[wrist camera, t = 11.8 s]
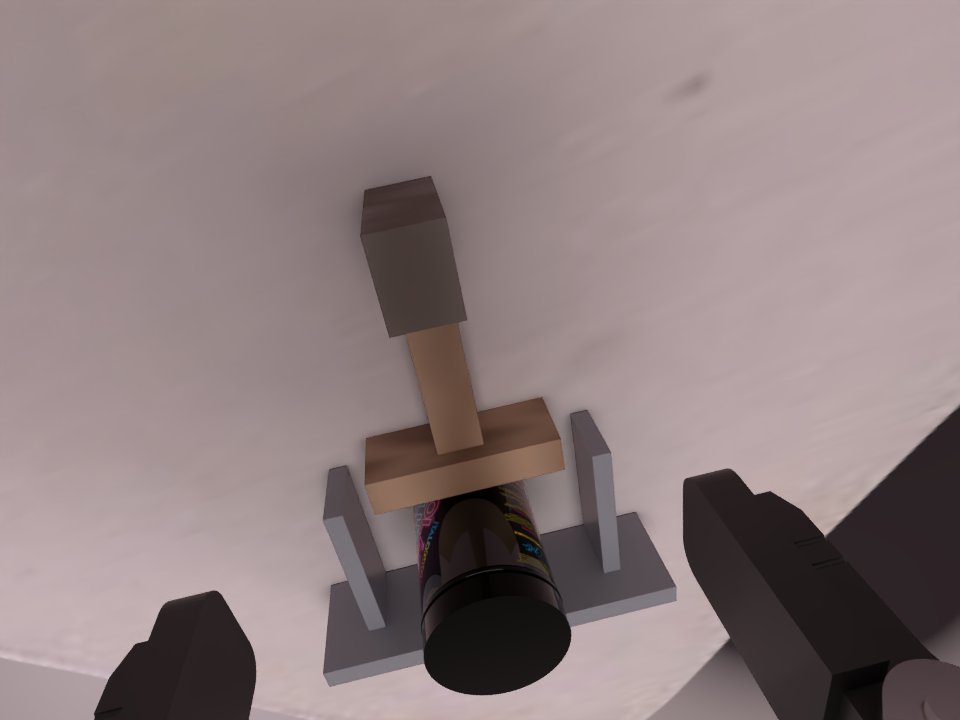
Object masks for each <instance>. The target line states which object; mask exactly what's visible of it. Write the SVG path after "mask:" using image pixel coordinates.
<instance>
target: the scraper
mask: <svg viewBox="0 0 960 720" xmlns="http://www.w3.org/2000/svg"><path fill="white" fill-rule="evenodd" d="M360 237H361V240H362V244H363V247H364V251H365V254H366V258H367V261H368V265H369V268H370V272H371V275H372V279H373V282H374V286H375V289H376V293H377V296H378V300H379V303H380V307H381V310H382V314H383V317H384V321H385V324H386V328H387V331H388V334H389V338H391V337H395V336H399V335H404V334H405V335H406V338H407V342H408V346H409V349H410V353H411V357H412V361H413V364H414V368H415V372H416V375H417V379H418V383H419V386H420V390H421V394H422V398H423V401H424V405H425V409H426V412H427V416H428V420H429V424H425V425H421V426H416V427H412V428H408V429H404V430H399V431H395V432H391V433H386V434H382V435H378V436H373V437H369V438H366V458H365V488H366V491H367V494H368V496H369V499H370V502H371V505H372V507H373V510H374V513H375V515H376V514H380V513H385V512H389V511H393V510H397V509H401V508H405V507H410V506H414V505H418V504H422V503H426V502H431V501H435V500H439V499H443V498H447V497H452V496H456V495H460V494H464V493H468V492H472V491H477V490H481V489H485V488H489V487H493V486H498V485H502V484H506V483H510V482H514V481H518V480H523V479H527V478H531V477H535V476H539V475H544V474H548V473H552V472H556V471H560V470H565V466H564V459H563V451H562V444H561V438H560V436H559V434H558V432H557V429H556V427H555V425H554V423H553V420H552V418H551V416H550V414H549V412H548V409H547V407H546V405H545V403H544V400H543V398H542V397H541V398H537V399H532V400H528V401H524V402H519V403H515V404H511V405H507V406H502V407H498V408H494V409H489V410H485V411H481V412H477V411H476V406H475V401H474V397H473V392H472V388H471V383H470V379H469V374H468V369H467V365H466V360H465V356H464V351H463V346H462V342H461V337H460V333H459V328H458V324H457V322H461V321H466V320H467V317H466V312H465V307H464V302H463V297H462V293H461V288H460V283H459V278H458V273H457V269H456V264H455V259H454V254H453V249H452V245H451V240H450V235H449V230H448V225H447V221H446V216H445V214H444V211H443V208H442V206H441V203H440V200H439V197H438V195H437V192H436V189H435V186H434V184H433V181H432V178H431V176H429V177H424V178H419V179H415V180H410V181H405V182H401V183H396V184H391V185H387V186H382V187H377V188H373V189H368V190H365V194H364V204H363V214H362V224H361V234H360Z"/></svg>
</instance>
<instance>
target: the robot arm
mask: <svg viewBox="0 0 960 720" xmlns="http://www.w3.org/2000/svg"><path fill="white" fill-rule="evenodd" d="M683 542H684V549H685V553H686V557H687V560H688V563H689V565H690V568H691V570H692V572H693V574H694V576H695V578H696V580H697V582H698V583H699V585H700V587H701V588H702V590H703V592H704V593H705V595H706V597H707V599H708V600H709V602H710V604H711V605H712V607H713V609H714V610H715V612H716V614H717V616H718V617H719V619H720V621H721V622H722V624H723V626H724V628H725V629H726V631H727V633H728V634H729V636H730V638H731V639H732V641H733V643H734V644H735V646H736V648H737V650H738V651H739V653H740V655H741V656H742V658H743V660H744V661H745V663H746V665H747V667H748V668H749V670H750V672H751V673H752V675H753V677H754V679H755V680H756V682H757V684H758V685H759V687H760V689H761V690H762V692H763V694H764V696H765V697H766V699H767V701H768V702H769V704H770V706H771V707H772V709H773V711H774V713H775V714H776V716H777V718H778V719H779V720H960V667H959V666H956V665H953V664H950V663H947V662H943V661H940V660H939V659H937V658H936V657H935V656H933V654H931V653H930V652H929V651H928V650H927V649H926V648H925V647H924V646H923V645H922V644H921V643H920V641H919V640H918V639H917V638H916V637H915V636H914V635H913V634H912V633H911V631H910V630H909V629H908V628H907V627H906V626H905V625H904V624H903V623H902V621H901V620H900V619H899V618H898V617H897V616H896V615H895V614H894V613H893V611H892V610H891V609H890V608H889V607H888V606H887V605H886V604H885V602H884V601H883V600H882V599H881V598H880V597H879V596H878V595H877V594H876V592H875V591H874V590H873V589H872V588H871V587H870V586H869V585H868V584H867V583H866V582H865V580H864V579H863V578H862V577H861V576H860V575H859V574H858V572H857V571H856V570H855V569H854V568H853V567H852V566H851V565H850V564H849V563H848V562H845V561H844V559H843V556H842V555H841V553H840V552H839V551H838V550H837V549H836V548H835V547H834V546H833V545H832V543H831V542H830V541H829V540H827V541H826V540H825V538H824V535H823V533H822V532H821V531H820V530H819V529H818V528H817V527H816V526H815V525H814V523H813V522H812V521H811V520H810V519H809V518H808V517H807V516H806V515H805V513H804V512H803V511H802V510H801V509H799V508H797V507H796V506H794V505H792V504H791V503H789V502H787V501H786V500H784V499H782V498H781V497H779V496H777V495H776V494H774V493H772V492H771V491H769V492H765V493H761V494H757V495H754V494H753V493H752V492H751V490H750V489H749V488H748V487H747V486H746V484H745V483H744V482H743V481H742V479H741V478H740V477H739V476H738V475H737V474H736V473H735V472H734V471H733V470H731V469H728V468H727V469H723V470H719V471H715V472H711V473H706V474H702V475H698V476H694V477H690V478H686V479H685V480H684V484H683ZM255 683H256V662H255V656H254V652H253V649H252V646H251V644H250V642H249V640H248V639H247V637H246V635H245V634H244V632H243V630H242V629H241V627H240V625H239V623H238V622H237V620H236V618H235V617H234V615H233V613H232V612H231V610H230V608H229V606H228V605H227V603H226V601H225V600H224V598H223V596H222V595H221V594H220V593H219V592H218V591H209V592H205V593H201V594H197V595H193V596H189V597H185V598H180V599H176V600H172V601H168V602H167V603H165V604H164V605H163V607H162V608H161V610H160V612H159V614H158V617H157V619H156V622H155V624H154V627H153V630H152V632H151V635H150V637H149V640H148V641H145V642H141V643H137V644H135V645H134V646H133V648H132V649H131V650H130V652H129V653H128V654H127V655H126V657H125V658H124V659H123V661H122V662H121V663H120V665H119V666H118V667H117V668H116V670H115V671H114V672H113V674H112V675H111V676H110V678H109V680H108V682H107V685H106V687H105V689H104V691H103V694H102V696H101V699H100V701H99V703H98V706H97V708H96V710H95V713H94V715H95V719H94V720H249V715H250V710H251V705H252V700H253V694H254V689H255Z"/></svg>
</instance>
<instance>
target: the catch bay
mask: <svg viewBox="0 0 960 720" xmlns="http://www.w3.org/2000/svg"><path fill="white" fill-rule="evenodd" d="M571 423H572V431H573V439H574V448H575V456H576V465H577V473H578V482H579V490H580V498H581V507H582V515H583V524H584V525H580V526H576V527H572V528H568V529H564V530H560V531H555V532H551V533H547V534H543V535H540V537H541V540H542V543H543V546H544V549H545V552H546V555H547V558H548V562H549V565H550V568H551V571H552V574H553V577H554V580H555V583H556V586H557V589H558V590H559V592H560V595H561V598H562V601H563V606H564V609H565V612H566V615H567V618H568V622H569V625H570V627H573V626H577V625H581V624H585V623H589V622H593V621H597V620H601V619H605V618H609V617H613V616H617V615H621V614H625V613H629V612H633V611H637V610H641V609H645V608H649V607H653V606H657V605H661V604H665V603H670V602H674V601H676V585H675V583H674V582H673V580H672V578H671V576H670V574H669V572H668V570H667V569H666V567H665V565H664V563H663V561H662V559H661V558H660V556H659V554H658V552H657V550H656V548H655V546H654V545H653V543H652V541H651V539H650V537H649V535H648V534H647V532H646V530H645V528H644V526H643V524H642V522H641V521H640V519H639V517H638V515H637V513H636V512H634V513H630V514H626V515H622V516H618V517H616V507H615V495H614V482H613V470H612V457H611V451H610V450H609V448H608V446H607V444H606V442H605V441H604V439H603V437H602V435H601V434H600V432H599V430H598V428H597V426H596V425H595V423H594V421H593V419H592V417H591V416H590V414H589V412H588V410H586V411H582V412H577V413H573V414H571ZM323 522H324V524H325V527H326V529H327V532H328V534H329V536H330V539H331V541H332V544H333V546H334V548H335V551H336V553H337V556H338V558H339V560H340V563H341V565H342V568H343V570H344V572H345V575H346V577H347V579H348V582H343V583H339V584H335V585H331V594H330V605H329V615H328V626H327V637H326V648H325V659H324V669H323V675H324V677H325V679H326V681H327V683H328V685H329V687H331V686H335V685H339V684H343V683H347V682H351V681H355V680H359V679H363V678H367V677H371V676H375V675H379V674H383V673H387V672H391V671H396V670H400V669H404V668H408V667H412V666H416V665H420V664H424V658H423V643H422V634H421V603H420V589H419V574H418V565H414V566H410V567H406V568H402V569H397V570H393V571H389V572H385V569H384V567H383V564H382V561H381V558H380V556H379V553H378V550H377V548H376V545H375V542H374V539H373V537H372V534H371V531H370V528H369V526H368V523H367V520H366V518H365V515H364V512H363V509H362V507H361V504H360V501H359V498H358V496H357V493H356V490H355V488H354V485H353V482H352V479H351V477H350V474H349V471H348V469H347V466H344V467H340V468H336V469H331V470H329V474H328V482H327V490H326V498H325V507H324V515H323Z"/></svg>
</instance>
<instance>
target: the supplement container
mask: <svg viewBox="0 0 960 720" xmlns="http://www.w3.org/2000/svg"><path fill="white" fill-rule="evenodd" d="M414 516H415V531H416V545H417V560H418V574H419V589H420V603H421V634H422V643H423V658H424V664H425V667H426V669H427V671H428V673H429V674H430V676H431V677H432V678H433V679H434V680H435V681H436V682H438V683H439V684H440V685H442V686H444V687H445V688H448V689H450V690H453V691H455V692H459V693H463V694H469V695H494V694H501V693H506V692H511V691H514V690H517V689H520V688H523V687H525V686H528V685H530V684H532V683H534V682H536V681H538V680H539V679H541V678H543V677H544V676H546V675H547V674H548V673H550V672H551V671H552V670H553V669H554V668H555V667H556V666H557V665H558V664H559V663H560V662H561V661H562V659H563V658H564V656H565V655H566V653H567V651H568V648H569V646H570V642H571V629H570V625H569V622H568V618H567V615H566V612H565V609H564V606H563V601H562V598H561V595H560V592H559V590H558V589H557V586H556V583H555V580H554V577H553V574H552V571H551V568H550V565H549V562H548V558H547V555H546V552H545V549H544V546H543V543H542V540H541V537H540V534H539V530H538V527H537V524H536V521H535V518H534V515H533V512H532V509H531V506H530V502H529V499H528V496H527V493H526V490H525V487H524V484H523V481H522V480H518V481H514V482H510V483H506V484H502V485H498V486H493V487H489V488H485V489H481V490H477V491H472V492H468V493H464V494H460V495H456V496H452V497H447V498H443V499H439V500H435V501H431V502H426V503H422V504H418V505H414Z"/></svg>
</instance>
